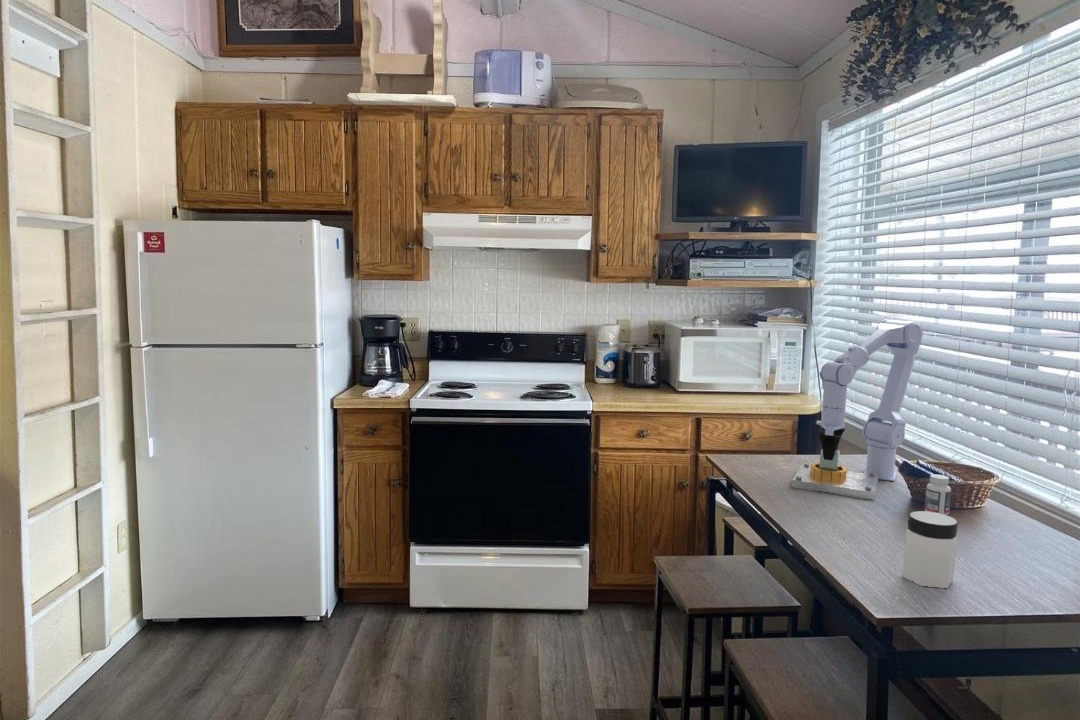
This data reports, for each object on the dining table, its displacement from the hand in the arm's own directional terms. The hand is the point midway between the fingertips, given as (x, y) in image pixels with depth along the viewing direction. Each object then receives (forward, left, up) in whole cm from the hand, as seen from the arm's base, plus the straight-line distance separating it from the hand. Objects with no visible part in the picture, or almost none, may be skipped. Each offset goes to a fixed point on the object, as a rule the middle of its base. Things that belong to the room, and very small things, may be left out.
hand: (829, 456), depth 201 cm
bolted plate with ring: (0, +2, -8) cm, 8 cm away
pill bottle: (+11, +26, -8) cm, 29 cm away
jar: (+57, +24, -8) cm, 62 cm away
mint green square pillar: (0, 0, -6) cm, 6 cm away
